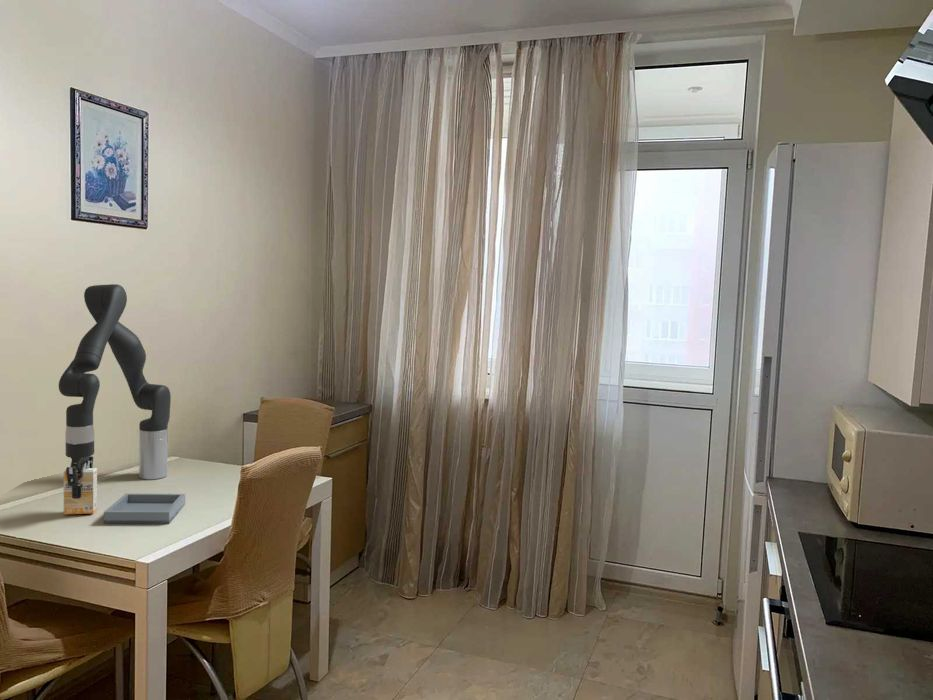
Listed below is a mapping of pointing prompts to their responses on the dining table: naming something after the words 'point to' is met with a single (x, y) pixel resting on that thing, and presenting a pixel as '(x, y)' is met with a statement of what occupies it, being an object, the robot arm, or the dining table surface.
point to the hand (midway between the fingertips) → (80, 495)
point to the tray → (144, 509)
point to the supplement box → (82, 494)
